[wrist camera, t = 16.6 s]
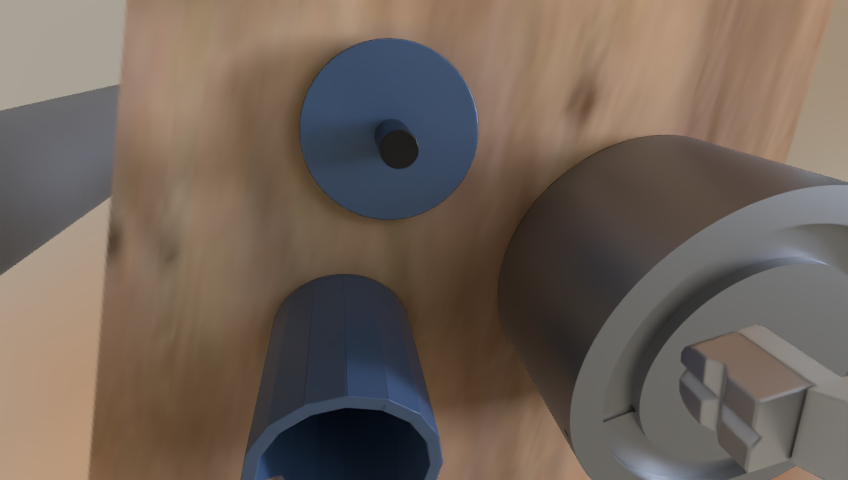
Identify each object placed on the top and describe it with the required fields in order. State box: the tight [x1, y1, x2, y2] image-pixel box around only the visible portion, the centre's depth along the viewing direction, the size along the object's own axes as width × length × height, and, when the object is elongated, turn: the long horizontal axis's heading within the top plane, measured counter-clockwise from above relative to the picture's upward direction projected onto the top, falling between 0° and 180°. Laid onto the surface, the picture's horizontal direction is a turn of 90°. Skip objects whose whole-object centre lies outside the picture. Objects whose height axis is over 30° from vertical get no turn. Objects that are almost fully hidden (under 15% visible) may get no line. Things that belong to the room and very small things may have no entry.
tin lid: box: [299, 38, 478, 220], centre depth 29 cm, size 12×12×5 cm
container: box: [498, 135, 848, 480], centre depth 35 cm, size 25×25×13 cm
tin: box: [241, 274, 443, 480], centre depth 32 cm, size 11×11×14 cm
